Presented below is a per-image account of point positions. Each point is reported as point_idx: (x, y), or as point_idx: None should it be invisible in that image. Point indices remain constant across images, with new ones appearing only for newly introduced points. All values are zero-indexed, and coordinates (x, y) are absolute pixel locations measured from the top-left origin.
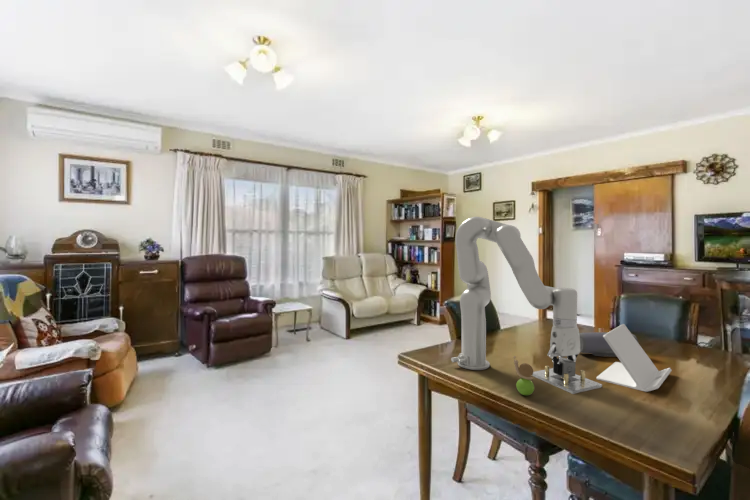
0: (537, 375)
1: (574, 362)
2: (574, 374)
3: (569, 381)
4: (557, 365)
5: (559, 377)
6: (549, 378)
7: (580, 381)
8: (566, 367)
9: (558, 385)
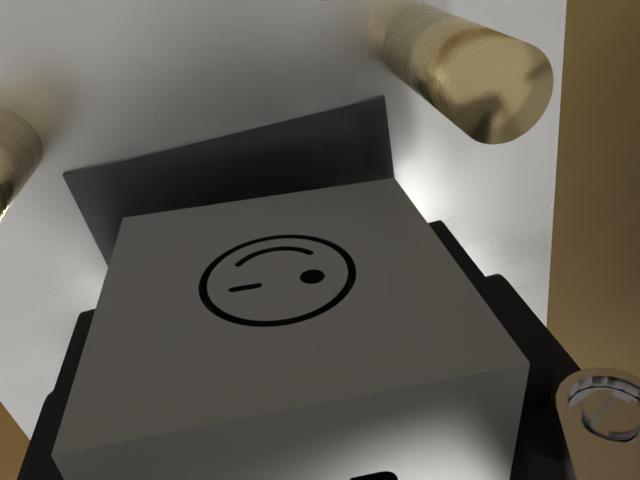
0: None
1: (102, 438)
2: (140, 230)
3: (291, 125)
4: (569, 367)
5: None
6: (488, 267)
7: (74, 105)
8: (388, 297)
9: (556, 33)
